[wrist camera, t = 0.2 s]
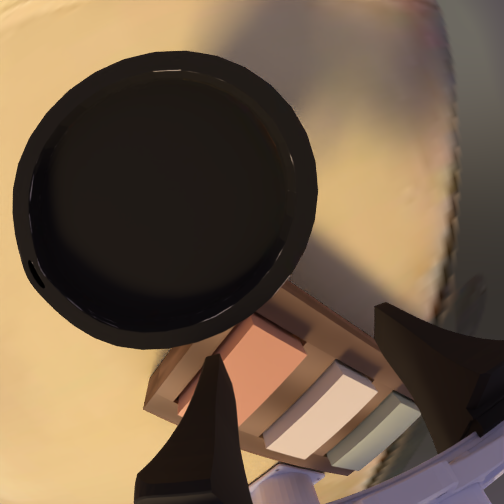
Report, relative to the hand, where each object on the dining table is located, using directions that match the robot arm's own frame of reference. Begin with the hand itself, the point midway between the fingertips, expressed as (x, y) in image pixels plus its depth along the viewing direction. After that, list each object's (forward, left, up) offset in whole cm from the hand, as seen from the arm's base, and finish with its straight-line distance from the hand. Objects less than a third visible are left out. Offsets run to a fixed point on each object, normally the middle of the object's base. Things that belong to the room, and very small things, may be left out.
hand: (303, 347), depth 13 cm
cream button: (-6, -10, -9) cm, 15 cm away
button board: (-6, -10, -11) cm, 16 cm away
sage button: (-6, -18, -9) cm, 21 cm away
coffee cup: (+3, +8, -11) cm, 14 cm away
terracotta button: (-6, -2, -9) cm, 11 cm away
